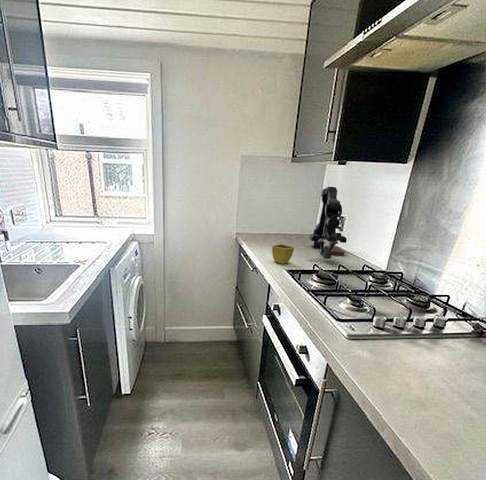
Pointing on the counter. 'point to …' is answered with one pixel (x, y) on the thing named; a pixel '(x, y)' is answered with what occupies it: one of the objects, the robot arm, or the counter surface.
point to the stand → (336, 251)
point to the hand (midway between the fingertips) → (325, 253)
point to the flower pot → (282, 253)
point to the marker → (325, 254)
